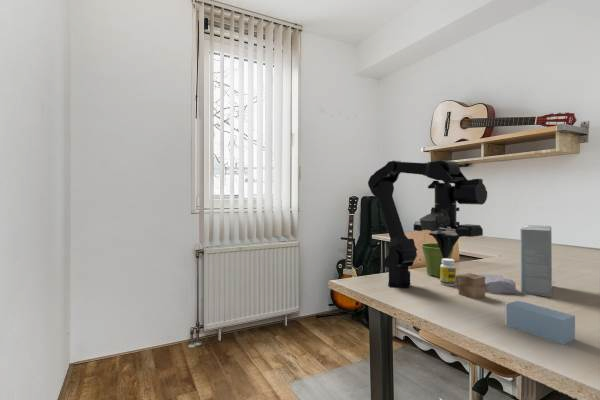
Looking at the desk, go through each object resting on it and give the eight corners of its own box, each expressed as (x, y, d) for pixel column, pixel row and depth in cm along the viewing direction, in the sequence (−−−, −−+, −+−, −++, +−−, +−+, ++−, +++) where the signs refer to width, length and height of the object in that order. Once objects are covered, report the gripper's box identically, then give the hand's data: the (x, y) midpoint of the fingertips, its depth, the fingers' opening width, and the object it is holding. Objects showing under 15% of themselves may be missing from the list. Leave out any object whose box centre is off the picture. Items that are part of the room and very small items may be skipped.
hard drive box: (523, 281, 106) (523, 224, 106) (551, 285, 101) (552, 225, 101) (519, 292, 94) (520, 228, 94) (552, 298, 89) (552, 229, 89)
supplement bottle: (449, 286, 101) (449, 261, 101) (437, 283, 105) (437, 258, 105) (458, 284, 103) (458, 260, 103) (446, 281, 107) (446, 257, 107)
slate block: (505, 303, 71) (563, 320, 61) (517, 299, 73) (575, 315, 63) (505, 324, 71) (563, 345, 61) (517, 320, 73) (574, 339, 63)
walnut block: (458, 294, 93) (458, 274, 93) (469, 292, 95) (469, 272, 95) (474, 299, 88) (474, 278, 88) (485, 296, 91) (485, 276, 91)
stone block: (485, 299, 94) (520, 294, 93) (482, 283, 94) (516, 278, 93) (470, 289, 106) (500, 284, 104) (467, 275, 106) (497, 270, 105)
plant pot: (414, 272, 120) (414, 243, 120) (438, 270, 123) (438, 242, 123) (435, 280, 108) (435, 248, 108) (462, 277, 112) (462, 247, 112)
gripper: (400, 203, 93) (400, 255, 93) (457, 205, 76) (457, 267, 76) (425, 203, 98) (425, 251, 98) (484, 204, 81) (484, 262, 82)
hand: (445, 257), depth 88 cm, fingers closed
